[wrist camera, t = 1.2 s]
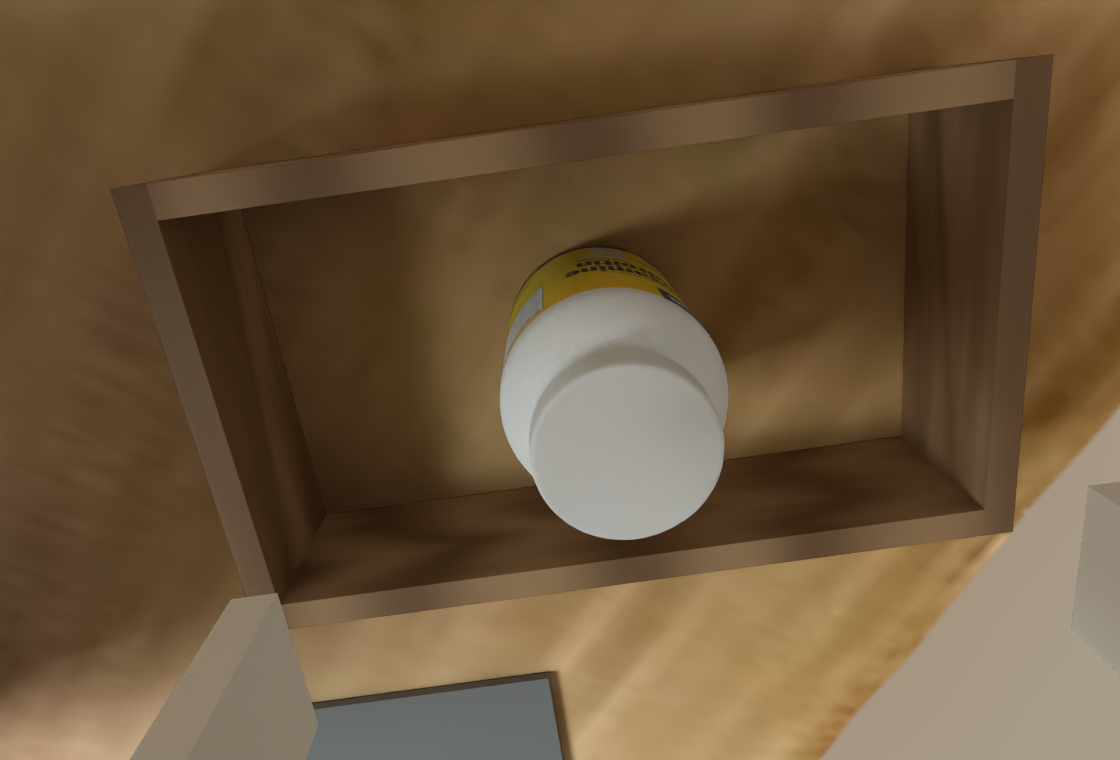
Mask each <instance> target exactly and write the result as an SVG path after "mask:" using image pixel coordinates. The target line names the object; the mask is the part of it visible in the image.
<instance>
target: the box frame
mask: <svg viewBox="0 0 1120 760" xmlns="http://www.w3.org/2000/svg"><path fill="white" fill-rule="evenodd" d="M1052 62H1053V54H1051V55H1042V56H1033V57H1024V58H1015V59H1006V60H997V61H988V62H979V63H970V64H961V65H952V66H943V67H935V68H928V69H921V70H914V71H907V72H900V73H893V74H887V75H880V76H873V77H866V78H859V79H852V80H845V81H838V82H831V83H824V84H817V85H810V86H803V87H796V88H789V89H782V90H775V91H768V92H761V93H754V94H747V95H740V96H733V97H726V98H719V99H712V100H705V101H698V102H691V103H684V104H677V105H670V106H663V107H656V108H649V109H642V110H635V111H628V112H621V113H614V114H607V115H600V116H593V117H586V118H580V119H573V120H566V121H559V122H552V123H545V124H538V125H531V126H524V127H517V128H510V129H503V130H496V131H489V132H482V133H475V134H468V135H461V136H454V137H447V138H440V139H433V140H426V141H419V142H412V143H405V144H398V145H391V146H384V147H377V148H370V149H363V150H356V151H349V152H342V153H335V154H328V155H321V156H314V157H307V158H300V159H293V160H286V161H279V162H273V163H266V164H259V165H252V166H245V167H238V168H231V169H224V170H217V171H210V172H203V173H197V174H191V175H186V176H181V177H175V178H170V179H164V180H159V181H153V182H148V183H142V184H137V185H131V186H126V187H120V188H115V189H110V190H111V193H112V196H113V199H114V202H115V205H116V208H117V211H118V214H119V217H120V220H121V223H122V226H123V229H124V232H125V235H126V238H127V241H128V244H129V247H130V250H131V253H132V256H133V259H134V262H135V265H136V268H137V271H138V274H139V277H140V280H141V283H142V286H143V289H144V292H145V295H146V298H147V301H148V304H149V307H150V310H151V313H152V316H153V319H154V322H155V325H156V328H157V331H158V334H159V337H160V340H161V343H162V346H163V349H164V352H165V355H166V358H167V361H168V364H169V367H170V370H171V373H172V376H173V379H174V382H175V385H176V388H177V391H178V394H179V397H180V400H181V403H182V406H183V409H184V412H185V415H186V418H187V421H188V424H189V427H190V430H191V433H192V436H193V439H194V442H195V445H196V448H197V451H198V454H199V458H200V461H201V464H202V467H203V470H204V473H205V476H206V479H207V482H208V485H209V488H210V491H211V494H212V497H213V500H214V503H215V506H216V509H217V512H218V515H219V518H220V521H221V524H222V527H223V530H224V533H225V536H226V539H227V542H228V545H229V548H230V551H231V554H232V557H233V560H234V563H235V566H236V569H237V572H238V575H239V578H240V581H241V584H242V587H243V590H244V593H245V596H246V597H251V596H259V595H266V594H274V593H277V594H278V597H279V600H280V603H281V606H282V610H283V613H284V616H285V619H286V622H287V625H288V629H292V628H299V627H307V626H314V625H322V624H329V623H337V622H344V621H352V620H359V619H366V618H374V617H381V616H389V615H396V614H404V613H411V612H418V611H426V610H433V609H441V608H448V607H456V606H463V605H470V604H478V603H485V602H493V601H500V600H508V599H515V598H522V597H530V596H537V595H545V594H552V593H560V592H567V591H575V590H582V589H589V588H597V587H604V586H612V585H619V584H627V583H634V582H641V581H649V580H656V579H664V578H671V577H679V576H686V575H693V574H701V573H708V572H716V571H723V570H731V569H738V568H745V567H753V566H760V565H768V564H775V563H783V562H790V561H798V560H805V559H812V558H820V557H827V556H835V555H842V554H850V553H857V552H864V551H872V550H879V549H887V548H894V547H902V546H909V545H916V544H924V543H931V542H939V541H946V540H954V539H961V538H968V537H976V536H983V535H991V534H998V533H1006V532H1013V522H1014V510H1015V498H1016V486H1017V474H1018V463H1019V451H1020V439H1021V427H1022V416H1023V404H1024V392H1025V380H1026V368H1027V357H1028V345H1029V333H1030V321H1031V310H1032V298H1033V286H1034V274H1035V262H1036V251H1037V239H1038V227H1039V215H1040V204H1041V192H1042V180H1043V168H1044V156H1045V145H1046V133H1047V121H1048V109H1049V98H1050V86H1051V74H1052ZM909 113H910V118H909V158H908V198H907V239H906V279H905V320H904V360H903V400H902V436H901V437H894V438H886V439H879V440H872V441H864V442H857V443H850V444H842V445H835V446H828V447H821V448H813V449H806V450H799V451H791V452H784V453H777V454H769V455H762V456H755V457H747V458H740V459H733V460H725V461H723V466H722V470H721V472H720V475H719V478H718V481H717V483H716V485H715V487H714V489H713V490H712V492H711V494H710V495H709V496H708V498H707V499H706V501H705V502H704V503H703V504H702V505H701V507H700V508H699V509H698V510H697V511H696V512H695V513H693V514H692V515H691V516H690V517H689V518H687V519H686V520H685V521H683V522H681V523H679V524H678V525H676V526H675V527H673V528H671V529H669V530H667V531H664V532H662V533H659V534H657V535H653V536H649V537H646V538H641V539H634V540H616V539H606V538H601V537H597V536H593V535H590V534H587V533H584V532H582V531H580V530H578V529H576V528H575V527H573V526H571V525H569V524H568V523H566V522H565V521H564V520H563V519H561V518H560V517H559V516H558V515H556V514H555V513H554V512H553V511H552V509H551V508H550V507H549V506H548V505H547V503H546V502H545V500H544V499H543V497H542V496H541V494H540V492H539V490H538V488H537V486H535V487H528V488H520V489H513V490H506V491H498V492H491V493H484V494H476V495H469V496H462V497H454V498H447V499H440V500H432V501H425V502H418V503H410V504H403V505H396V506H389V507H381V508H374V509H367V510H359V511H352V512H345V513H337V514H330V515H325V512H324V508H323V504H322V501H321V497H320V494H319V490H318V486H317V483H316V479H315V476H314V472H313V468H312V465H311V461H310V458H309V454H308V450H307V447H306V443H305V440H304V436H303V432H302V429H301V425H300V421H299V418H298V414H297V411H296V407H295V403H294V400H293V396H292V393H291V389H290V385H289V382H288V378H287V375H286V371H285V367H284V364H283V360H282V356H281V353H280V349H279V346H278V342H277V338H276V335H275V331H274V328H273V324H272V320H271V317H270V313H269V310H268V306H267V302H266V299H265V295H264V292H263V288H262V284H261V281H260V277H259V273H258V270H257V266H256V263H255V259H254V255H253V252H252V248H251V245H250V241H249V237H248V234H247V230H246V227H245V223H244V219H243V216H242V212H241V209H243V208H250V207H257V206H264V205H271V204H278V203H285V202H292V201H299V200H306V199H313V198H320V197H327V196H334V195H341V194H348V193H355V192H362V191H369V190H376V189H383V188H390V187H397V186H404V185H411V184H418V183H425V182H432V181H439V180H446V179H453V178H460V177H467V176H474V175H481V174H488V173H495V172H502V171H509V170H516V169H523V168H530V167H537V166H544V165H551V164H558V163H565V162H572V161H579V160H586V159H593V158H600V157H607V156H614V155H621V154H629V153H636V152H643V151H650V150H657V149H664V148H671V147H678V146H685V145H692V144H699V143H706V142H713V141H720V140H727V139H734V138H741V137H748V136H755V135H762V134H769V133H776V132H783V131H790V130H797V129H804V128H811V127H818V126H825V125H832V124H839V123H846V122H853V121H860V120H867V119H874V118H881V117H888V116H895V115H902V114H909Z"/></svg>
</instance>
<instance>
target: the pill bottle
mask: <svg viewBox="0 0 1120 760" xmlns="http://www.w3.org/2000/svg"><path fill="white" fill-rule="evenodd" d="M728 400H729V389H728V381H727V375H726V371H725V367H724V364H723V361H722V359H721V356H720V354H719V352H718V349H717V347H716V346H715V344H714V342H713V340H712V339H711V337H710V335H709V334H708V332H707V331H706V330H705V328H704V327H703V326H702V324H701V323H700V322H699V321H698V320H697V319H696V317H695V316H694V315H693V314H692V312H691V311H690V310H689V309H688V308H687V306H686V305H685V303H684V302H683V301H682V299H681V298H680V297H679V296H678V294H677V293H676V292H675V290H674V289H673V288H672V286H671V285H670V284H669V282H668V281H667V280H666V278H665V277H664V276H663V275H662V274H661V273H660V272H659V271H658V270H657V269H656V268H655V267H654V266H653V265H652V264H650V263H649V262H648V261H646V260H645V259H643V258H642V257H640V256H638V255H636V254H634V253H632V252H630V251H627V250H624V249H621V248H617V247H613V246H606V245H588V246H581V247H576V248H572V249H569V250H567V251H564V252H561V253H559V254H557V255H555V256H553V257H552V258H550V259H548V260H547V261H546V262H544V263H543V264H542V265H540V266H539V267H538V268H537V269H536V270H535V271H534V272H533V273H532V274H531V275H530V277H529V278H528V279H527V280H526V282H525V283H524V284H523V286H522V288H521V289H520V291H519V293H518V295H517V298H516V300H515V302H514V305H513V309H512V312H511V317H510V323H509V331H508V338H507V344H506V350H505V357H504V364H503V371H502V377H501V384H500V412H501V419H502V424H503V428H504V431H505V434H506V437H507V440H508V442H509V444H510V446H511V448H512V450H513V452H514V453H515V455H516V457H517V458H518V460H519V461H520V462H521V464H522V465H523V466H524V467H525V469H526V470H527V471H528V472H529V473H530V474H531V475H532V476H533V478H534V481H535V483H536V485H537V488H538V490H539V492H540V494H541V496H542V497H543V499H544V500H545V502H546V503H547V505H548V506H549V507H550V508H551V509H552V511H553V512H554V513H555V514H556V515H558V516H559V517H560V518H561V519H563V520H564V521H565V522H566V523H568V524H569V525H571V526H573V527H575V528H576V529H578V530H580V531H582V532H584V533H587V534H590V535H593V536H597V537H601V538H606V539H616V540H634V539H641V538H646V537H649V536H653V535H657V534H659V533H662V532H664V531H667V530H669V529H671V528H673V527H675V526H676V525H678V524H679V523H681V522H683V521H685V520H686V519H687V518H689V517H690V516H691V515H692V514H693V513H695V512H696V511H697V510H698V509H699V508H700V507H701V505H702V504H703V503H704V502H705V501H706V499H707V498H708V496H709V495H710V494H711V492H712V490H713V489H714V487H715V485H716V483H717V481H718V478H719V475H720V472H721V470H722V466H723V458H724V434H723V429H724V425H725V422H726V417H727V411H728Z"/></svg>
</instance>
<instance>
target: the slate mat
mask: <svg viewBox="0 0 1120 760" xmlns="http://www.w3.org/2000/svg"><path fill="white" fill-rule="evenodd" d="M312 705H313V708H314V711H315V714H316V717H317V721H318V724H319V725H318V728H317V730H316V733H315V736H314V739H313V742H312V744H311V747H310V750H309V753H308V756H307V758H306V760H563V755H562V749H561V743H560V738H559V732H558V726H557V721H556V715H555V709H554V703H553V698H552V692H551V686H550V680H549V675H548V672H546V673H538V674H531V675H523V676H516V677H508V678H501V679H493V680H486V681H478V682H471V683H463V684H455V685H448V686H440V687H433V688H425V689H418V690H410V691H403V692H395V693H388V694H380V695H373V696H365V697H358V698H350V699H343V700H335V701H328V702H320V703H313V704H312Z"/></svg>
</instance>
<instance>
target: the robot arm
mask: <svg viewBox="0 0 1120 760" xmlns="http://www.w3.org/2000/svg"><path fill="white" fill-rule="evenodd" d="M1072 629H1073V630H1074V631H1075V632H1076V633H1077V634H1078V635H1079V636H1080V637H1081V638H1082V639H1083V640H1085V642H1087V643H1088V644H1089V645H1090V646H1091V647H1092V648H1093V649H1094V650H1095V651H1096V652H1097V653H1098V654H1099V655H1100V656H1101V657H1102V658H1103V659H1104V660H1105V661H1106V662H1107V663H1108V664H1109V665H1110V666H1111V667H1112V668H1113V669H1114V670H1116V672H1118V674H1120V482H1116V483H1108V484H1100V485H1093V486H1089V487H1088V494H1087V502H1086V511H1085V520H1084V527H1083V536H1082V544H1081V552H1080V561H1079V569H1078V577H1077V585H1076V594H1075V602H1074V611H1073V619H1072ZM318 725H319V724H318V721H317V717H316V714H315V711H314V708H313V705H312V702H311V698H310V695H309V692H308V689H307V686H306V683H305V679H304V676H303V673H302V670H301V667H300V664H299V660H298V657H297V654H296V651H295V648H294V644H293V641H292V638H291V635H290V632H289V629H288V625H287V622H286V619H285V616H284V613H283V610H282V606H281V603H280V600H279V597H278V594H277V593H274V594H266V595H259V596H251V597H244V598H236V599H231V600H230V602H229V603H228V605H227V606H226V608H225V610H224V611H223V613H222V614H221V616H220V617H219V619H218V621H217V622H216V624H215V625H214V627H213V629H212V630H211V632H210V633H209V635H208V636H207V638H206V640H205V641H204V643H203V644H202V646H201V648H200V649H199V651H198V652H197V654H196V655H195V657H194V659H193V660H192V662H191V663H190V665H189V667H188V668H187V670H186V671H185V673H184V674H183V676H182V678H181V679H180V681H179V682H178V684H177V686H176V687H175V689H174V690H173V692H172V693H171V695H170V697H169V698H168V700H167V701H166V703H165V705H164V706H163V708H162V709H161V711H160V712H159V714H158V716H157V717H156V719H155V720H154V722H153V724H152V725H151V727H150V728H149V730H148V731H147V733H146V735H145V736H144V738H143V739H142V741H141V743H140V744H139V746H138V747H137V749H136V750H135V752H134V754H133V755H132V757H131V758H130V760H306V758H307V756H308V753H309V750H310V747H311V744H312V742H313V739H314V736H315V733H316V730H317V728H318Z"/></svg>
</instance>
